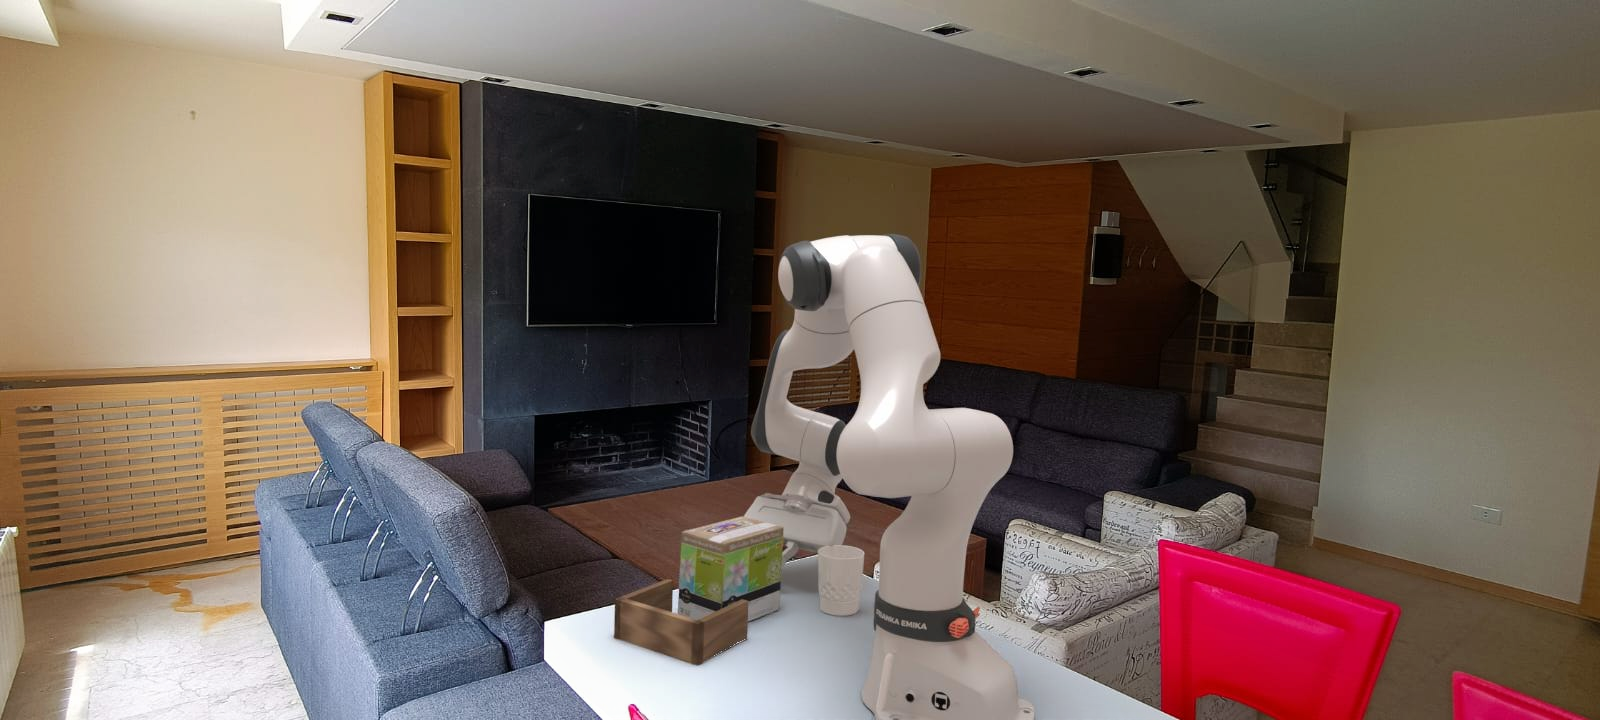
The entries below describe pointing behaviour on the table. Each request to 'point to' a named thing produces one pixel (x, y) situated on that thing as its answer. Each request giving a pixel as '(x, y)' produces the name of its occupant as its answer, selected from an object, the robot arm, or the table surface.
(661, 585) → the wooden box
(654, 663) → the table surface
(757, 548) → the tea box
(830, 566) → the white cup
